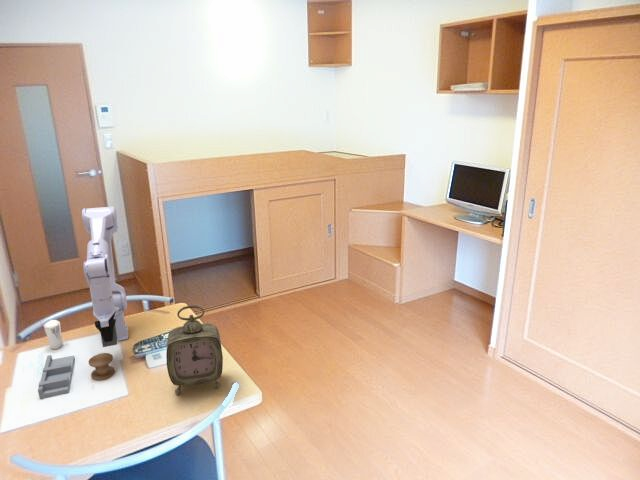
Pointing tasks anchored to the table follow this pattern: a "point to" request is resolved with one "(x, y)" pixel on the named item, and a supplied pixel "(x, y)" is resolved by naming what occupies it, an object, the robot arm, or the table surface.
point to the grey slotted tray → (56, 376)
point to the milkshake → (53, 333)
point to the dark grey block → (114, 341)
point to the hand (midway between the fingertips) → (108, 337)
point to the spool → (102, 366)
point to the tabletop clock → (194, 352)
